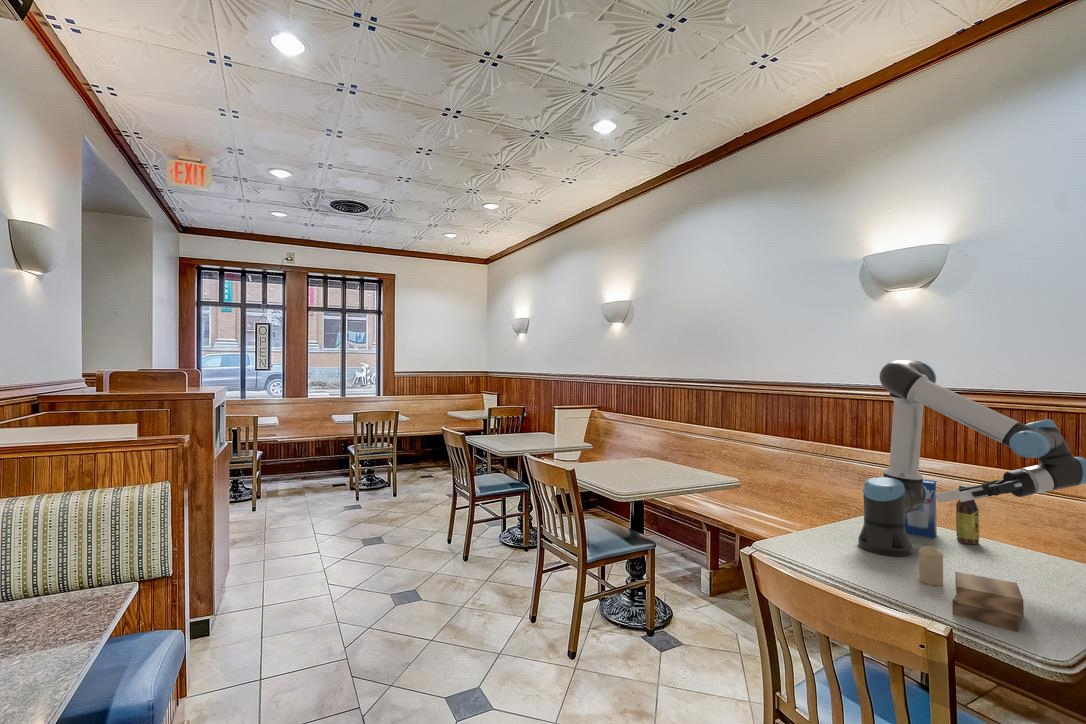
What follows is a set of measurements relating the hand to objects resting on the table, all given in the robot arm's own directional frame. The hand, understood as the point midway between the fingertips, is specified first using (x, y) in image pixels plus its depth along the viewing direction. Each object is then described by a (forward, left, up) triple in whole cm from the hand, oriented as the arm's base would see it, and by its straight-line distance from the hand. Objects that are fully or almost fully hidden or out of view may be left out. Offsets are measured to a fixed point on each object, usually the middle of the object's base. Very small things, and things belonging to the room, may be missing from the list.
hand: (947, 497), depth 153 cm
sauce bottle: (-1, +41, -23) cm, 47 cm away
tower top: (+12, -25, -19) cm, 34 cm away
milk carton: (-15, +40, -23) cm, 49 cm away
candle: (-2, -11, -23) cm, 26 cm away
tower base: (+12, -25, -23) cm, 36 cm away
